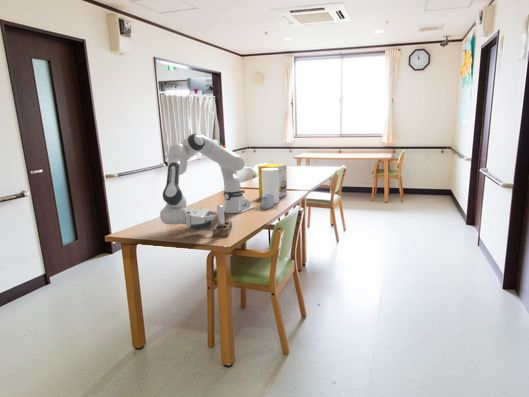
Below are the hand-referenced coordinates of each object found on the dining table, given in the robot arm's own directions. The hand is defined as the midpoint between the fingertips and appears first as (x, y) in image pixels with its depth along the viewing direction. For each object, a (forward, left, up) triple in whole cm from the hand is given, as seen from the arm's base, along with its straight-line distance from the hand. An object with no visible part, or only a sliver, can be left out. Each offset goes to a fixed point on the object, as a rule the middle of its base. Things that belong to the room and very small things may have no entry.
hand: (215, 215), depth 205 cm
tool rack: (-5, 0, -11) cm, 12 cm away
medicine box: (-64, -16, -11) cm, 67 cm away
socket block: (-6, -20, -11) cm, 24 cm away
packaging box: (-97, -37, -11) cm, 105 cm away
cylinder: (-79, -25, -11) cm, 84 cm away
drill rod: (-2, +2, -11) cm, 11 cm away
